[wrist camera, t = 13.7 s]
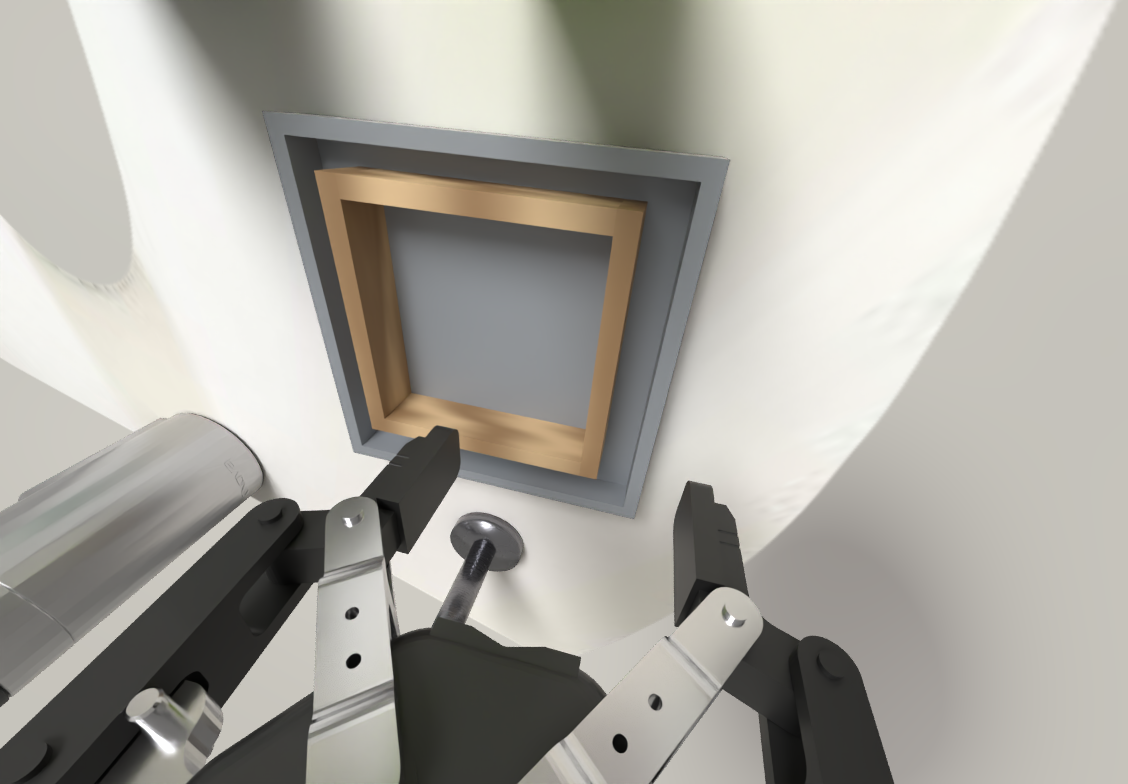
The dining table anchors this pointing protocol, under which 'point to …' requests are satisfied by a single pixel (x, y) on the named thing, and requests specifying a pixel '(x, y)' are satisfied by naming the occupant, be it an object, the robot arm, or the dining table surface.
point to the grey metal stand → (478, 559)
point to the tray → (512, 287)
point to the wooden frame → (376, 318)
